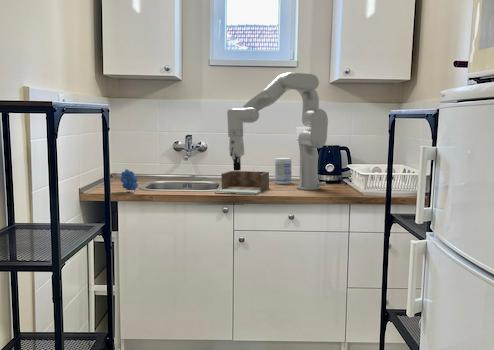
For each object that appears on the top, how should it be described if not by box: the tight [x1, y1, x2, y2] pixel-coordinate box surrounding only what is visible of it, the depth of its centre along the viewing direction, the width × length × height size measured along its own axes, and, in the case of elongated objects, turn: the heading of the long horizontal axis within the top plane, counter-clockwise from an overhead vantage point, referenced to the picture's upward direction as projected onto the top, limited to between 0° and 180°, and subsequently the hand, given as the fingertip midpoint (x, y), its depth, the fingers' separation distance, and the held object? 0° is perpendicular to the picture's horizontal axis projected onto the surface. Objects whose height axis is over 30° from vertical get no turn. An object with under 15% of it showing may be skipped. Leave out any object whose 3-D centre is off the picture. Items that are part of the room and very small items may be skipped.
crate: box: [221, 170, 270, 193], centre depth 252 cm, size 22×15×9 cm, turn 73°
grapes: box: [120, 168, 139, 191], centre depth 244 cm, size 12×7×12 cm, turn 59°
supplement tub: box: [274, 157, 292, 185], centre depth 275 cm, size 10×10×15 cm
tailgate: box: [214, 188, 262, 196], centre depth 240 cm, size 22×1×9 cm
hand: (237, 170), depth 236 cm, fingers closed
